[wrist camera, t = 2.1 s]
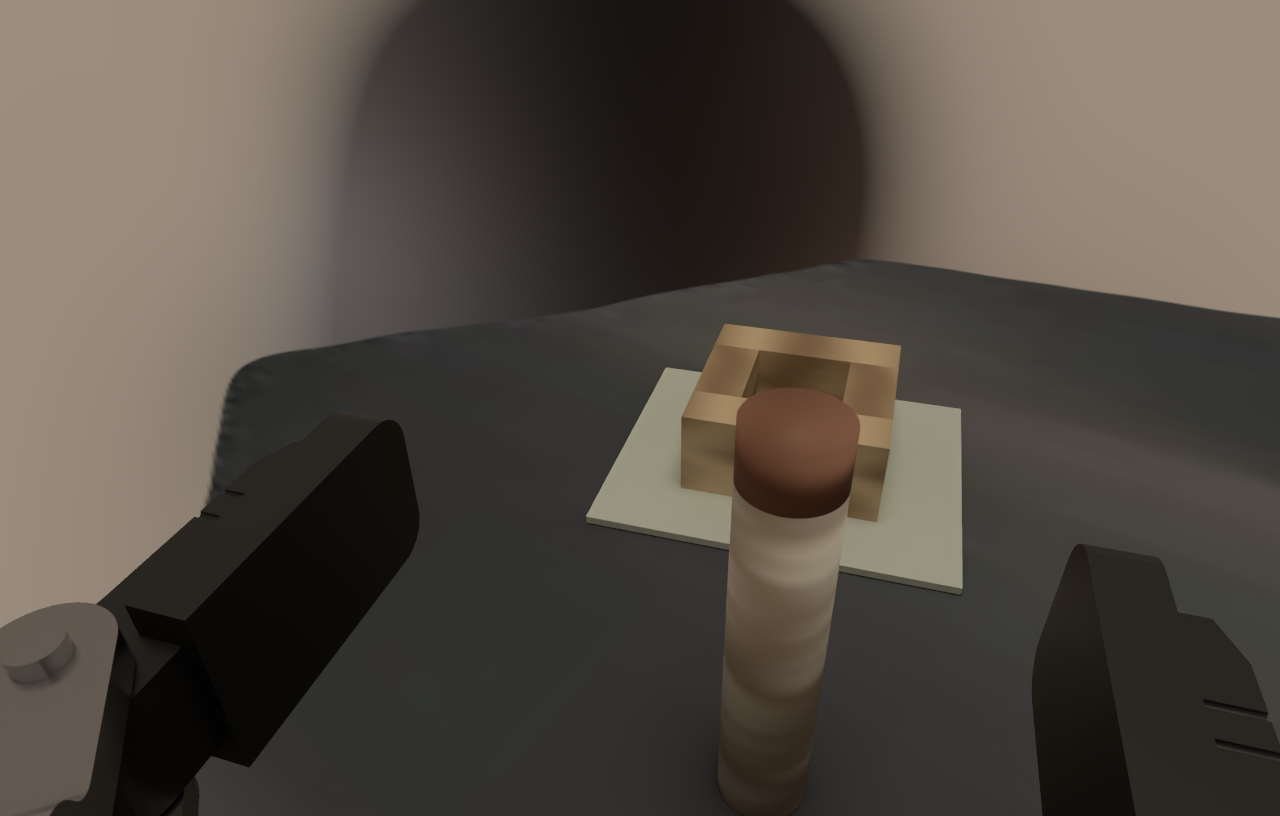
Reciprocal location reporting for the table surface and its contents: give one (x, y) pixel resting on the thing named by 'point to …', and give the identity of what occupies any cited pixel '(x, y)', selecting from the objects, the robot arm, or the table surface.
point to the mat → (887, 549)
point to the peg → (781, 589)
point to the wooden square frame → (790, 362)
